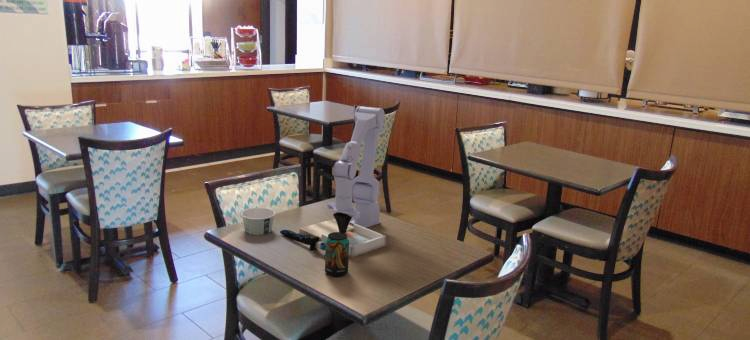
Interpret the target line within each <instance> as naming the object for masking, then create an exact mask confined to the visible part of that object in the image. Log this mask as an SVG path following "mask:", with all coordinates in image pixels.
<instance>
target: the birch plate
mask: <svg viewBox="0 0 750 340" xmlns="http://www.w3.org/2000/svg"><path fill="white" fill-rule="evenodd" d="M353 230H354V226H352V225H350V224H349V225H348V227H347V231H346V232H349V231H350V232H353ZM333 232H339V229H338V225H337V222H336V219H335V218H332V219H329V220H325V221H321V222H318V223H314V224H310V225H307V226H303V227H301V228H299V230H298V234H301V235H310V238H314V237H317V236H318V237H319V242H321V237H322V234H326V235H328V234H330V233H333Z"/></svg>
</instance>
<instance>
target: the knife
mask: <svg viewBox="0 0 750 340" xmlns="http://www.w3.org/2000/svg"><path fill="white" fill-rule="evenodd" d="M279 233H280V235H282V236H284V237H286V238H287V239H290V240H291V241H295V242H298V243H300V244H304V245H307V246H309V251H315V250H321V251H325V247H326V242H319V237H318V236H317V237H314V238H310V235H301V234H299V232H295V231H293V230H289V229H282V230H280V231H279Z"/></svg>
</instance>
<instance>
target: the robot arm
mask: <svg viewBox="0 0 750 340" xmlns="http://www.w3.org/2000/svg"><path fill="white" fill-rule="evenodd" d="M353 115H354V117H353V118H354V123H355V126H354V129H353V132H352V136H351V139H350V141H349V142H347V143H345V146H344V148H343V150H342V153H341V155H340V158H339V160H338V161H335V163H334V165H333V169H332V174H333V178H334V179H333V180H334V182H335V197H334V198H335V199H334V201H335V202H333V201H331V202H330V201H329V202H327V206H326V207H327V209H329V210H330V209H331V210H332V211H333V212H334V213H333V219H335V220H336V222H337V225H338V229H339V232H341V233H345V232H346V231H347V227H348V225H350V224H351V225H353V226H354V224H357V225H360V226H362V227H365V228H367V229H368V228H370V227H372V226H375V225H378V224H381V223H382V222H381V221H380V213H381V212H380V211H381V208H380V207H381V206H380V203H379V201H378V199H379V197H380V182H379V181H378V179H377V178H376V177H375V176H374V172H375V171H374V170H375V164H376V163H375V162H376V156H377V148H378V142H379V134H380V132H382V131H383V130H384V126H385V120H386V119H385V118H386V114H385V111H384V109H383V108H382V107H371V106H362V105H357V107H355V110H354V114H353ZM362 143H363V147H361V144H362ZM362 148H363V149H362ZM361 153H362V155H361ZM360 155H361V156H362V157H361V161H360V162H361V165H360V170H359V171H360V172H359V175H357V176H356V174H357V167H358V160H359V157H360ZM353 202H354V207H353ZM352 218H353V219H352Z"/></svg>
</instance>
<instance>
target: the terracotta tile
mask: <svg viewBox="0 0 750 340" xmlns="http://www.w3.org/2000/svg"><path fill="white" fill-rule="evenodd" d="M345 234H346V235H347V238H351V237H354V236H357V234H354V233H352V232H350V231H349V232H345Z"/></svg>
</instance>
